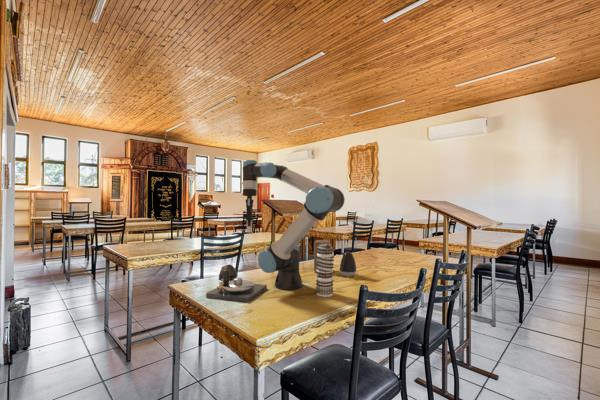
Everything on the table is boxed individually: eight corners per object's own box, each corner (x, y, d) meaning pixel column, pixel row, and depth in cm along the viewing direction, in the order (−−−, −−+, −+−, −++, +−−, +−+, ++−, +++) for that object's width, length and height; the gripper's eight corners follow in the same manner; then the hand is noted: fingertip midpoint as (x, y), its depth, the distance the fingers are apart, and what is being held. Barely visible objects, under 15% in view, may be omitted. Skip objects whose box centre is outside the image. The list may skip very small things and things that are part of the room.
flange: (248, 281, 160) (248, 264, 160) (258, 289, 146) (258, 270, 146) (213, 285, 151) (213, 267, 151) (220, 294, 137) (220, 275, 137)
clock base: (266, 288, 156) (266, 275, 156) (247, 302, 135) (247, 287, 135) (229, 284, 163) (230, 272, 163) (206, 297, 142) (206, 282, 142)
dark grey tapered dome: (344, 273, 192) (344, 249, 192) (359, 275, 186) (359, 251, 186) (336, 276, 184) (336, 251, 184) (351, 278, 177) (352, 253, 177)
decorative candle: (329, 298, 142) (329, 246, 142) (312, 295, 146) (312, 244, 146) (336, 293, 150) (337, 243, 150) (320, 290, 154) (320, 242, 154)
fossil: (232, 280, 169) (225, 265, 170) (219, 287, 171) (212, 271, 172) (240, 275, 180) (233, 260, 181) (228, 281, 182) (221, 266, 183)
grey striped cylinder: (313, 272, 193) (314, 241, 193) (315, 269, 202) (315, 239, 202) (329, 273, 191) (329, 242, 191) (330, 269, 201) (330, 240, 201)
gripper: (243, 189, 167) (243, 230, 167) (241, 188, 154) (241, 233, 154) (257, 189, 167) (256, 230, 167) (256, 188, 154) (255, 233, 154)
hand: (249, 232), depth 161 cm, fingers closed
